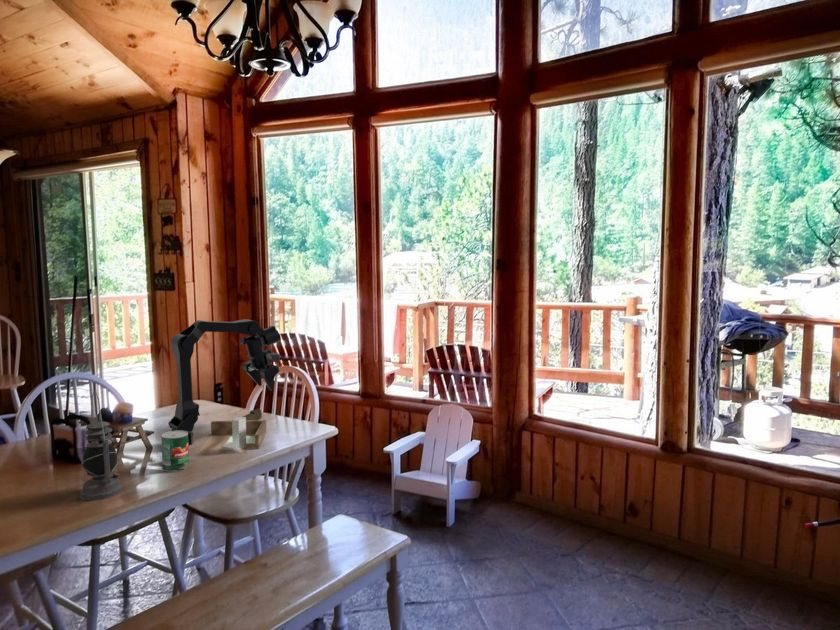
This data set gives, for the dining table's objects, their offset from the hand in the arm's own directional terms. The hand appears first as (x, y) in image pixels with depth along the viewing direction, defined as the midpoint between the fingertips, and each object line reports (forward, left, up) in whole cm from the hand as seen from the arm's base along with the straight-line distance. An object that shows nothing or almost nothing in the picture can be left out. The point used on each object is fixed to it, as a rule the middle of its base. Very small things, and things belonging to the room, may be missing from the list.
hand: (266, 387), depth 222 cm
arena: (-8, -20, -16) cm, 27 cm away
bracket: (-7, -27, -15) cm, 32 cm away
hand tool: (-10, +6, -16) cm, 20 cm away
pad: (-6, -18, -16) cm, 25 cm away
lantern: (-37, -58, -16) cm, 71 cm away
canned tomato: (-22, -40, -16) cm, 49 cm away
